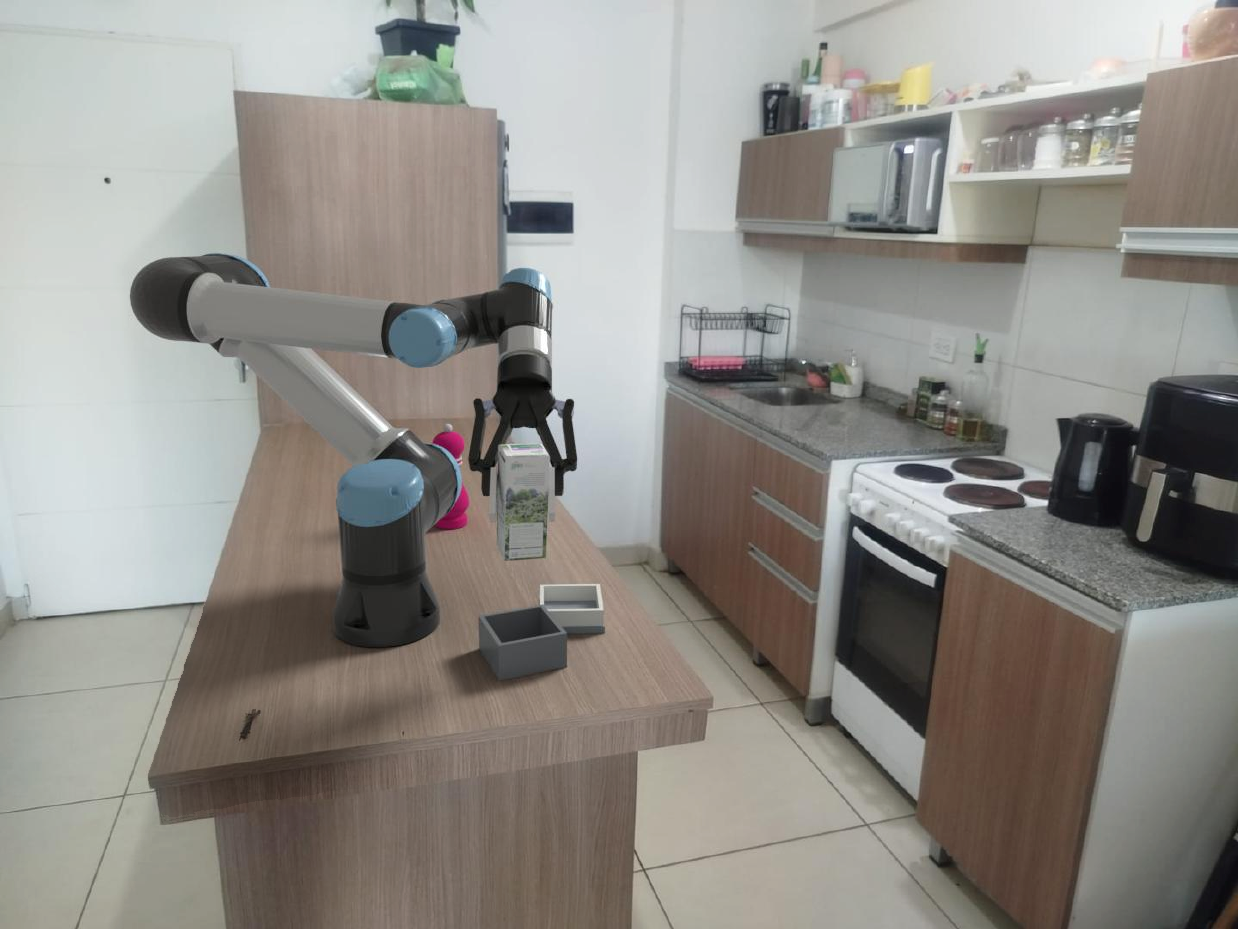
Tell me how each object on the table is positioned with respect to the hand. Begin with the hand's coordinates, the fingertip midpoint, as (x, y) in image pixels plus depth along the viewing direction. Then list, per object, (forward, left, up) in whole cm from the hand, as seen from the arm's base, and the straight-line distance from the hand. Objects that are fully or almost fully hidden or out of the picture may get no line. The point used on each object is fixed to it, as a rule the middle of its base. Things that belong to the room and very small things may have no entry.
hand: (522, 517), depth 109 cm
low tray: (+11, +11, -21) cm, 27 cm away
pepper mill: (+5, +58, -22) cm, 62 cm away
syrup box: (+1, +4, -7) cm, 7 cm away
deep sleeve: (+1, +3, -21) cm, 22 cm away
